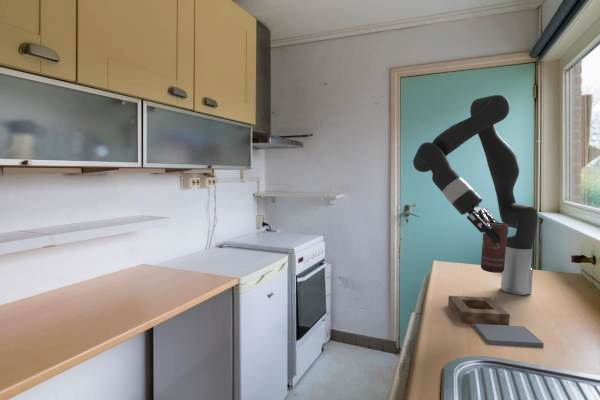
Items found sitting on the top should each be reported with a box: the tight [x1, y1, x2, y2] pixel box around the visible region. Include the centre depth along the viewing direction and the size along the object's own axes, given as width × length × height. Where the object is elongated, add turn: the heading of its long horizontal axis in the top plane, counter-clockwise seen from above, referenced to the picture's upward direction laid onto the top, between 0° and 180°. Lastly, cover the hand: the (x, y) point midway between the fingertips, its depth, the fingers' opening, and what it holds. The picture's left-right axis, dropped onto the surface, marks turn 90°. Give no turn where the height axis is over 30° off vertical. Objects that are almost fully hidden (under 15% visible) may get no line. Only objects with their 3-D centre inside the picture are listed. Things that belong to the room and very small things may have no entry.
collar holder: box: [447, 295, 511, 326], centre depth 115 cm, size 14×14×4 cm
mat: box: [473, 324, 545, 348], centre depth 101 cm, size 14×10×1 cm
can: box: [480, 221, 510, 274], centre depth 105 cm, size 6×6×14 cm
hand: (501, 239), depth 104 cm, fingers closed on can, 6 cm apart
